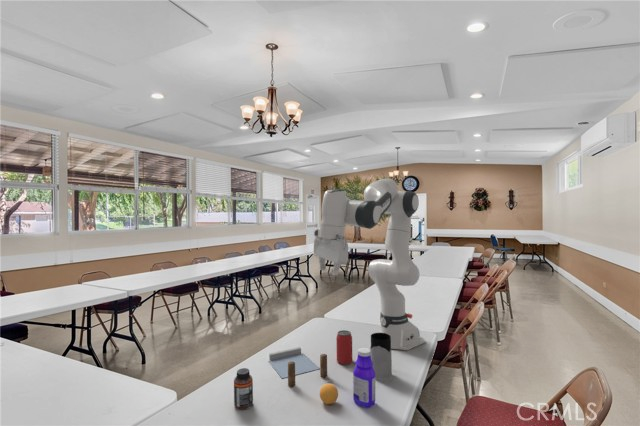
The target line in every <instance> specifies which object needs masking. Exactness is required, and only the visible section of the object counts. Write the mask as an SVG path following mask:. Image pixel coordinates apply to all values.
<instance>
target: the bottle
mask: <svg viewBox="0 0 640 426" xmlns="http://www.w3.org/2000/svg"><path fill="white" fill-rule="evenodd" d="M372 366H373V362H372V360H371V354H370V348H367V347H360V348H358V349H357V359H356V361H355V367H354V369H353V372H352V373H353V377H352V383H353V386H352V393H353V395H352V397H353V401H354V403H355V404H356V405H358V406H360V407H362V408H365V409H369V408H371V407H373V406H374V404H375V403H376V380H375V371H374V369H373V367H372Z"/></svg>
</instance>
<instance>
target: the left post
mask: <svg viewBox="0 0 640 426" xmlns="http://www.w3.org/2000/svg"><path fill="white" fill-rule="evenodd" d="M295 386H296V375H295V362H293V361H291V362H288V377H287V387H288V388H294V387H295Z"/></svg>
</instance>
